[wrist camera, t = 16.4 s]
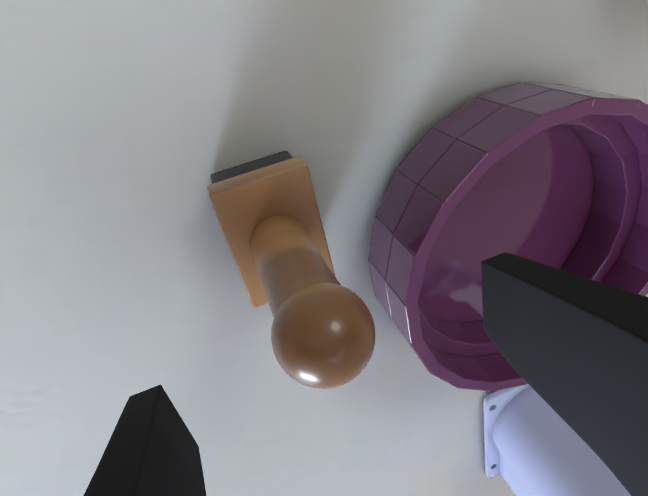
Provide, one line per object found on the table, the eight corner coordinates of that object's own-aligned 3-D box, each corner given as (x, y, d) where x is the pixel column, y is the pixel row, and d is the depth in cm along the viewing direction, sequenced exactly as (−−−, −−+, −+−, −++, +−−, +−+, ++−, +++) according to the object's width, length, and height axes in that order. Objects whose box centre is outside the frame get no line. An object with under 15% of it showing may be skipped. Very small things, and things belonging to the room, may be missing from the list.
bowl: (591, 284, 28) (657, 327, 24) (386, 368, 26) (423, 430, 22) (623, 44, 20) (727, 52, 17) (339, 134, 18) (384, 167, 14)
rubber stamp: (318, 249, 20) (417, 408, 12) (244, 276, 20) (296, 460, 12) (290, 143, 18) (393, 258, 10) (203, 171, 17) (235, 317, 9)
